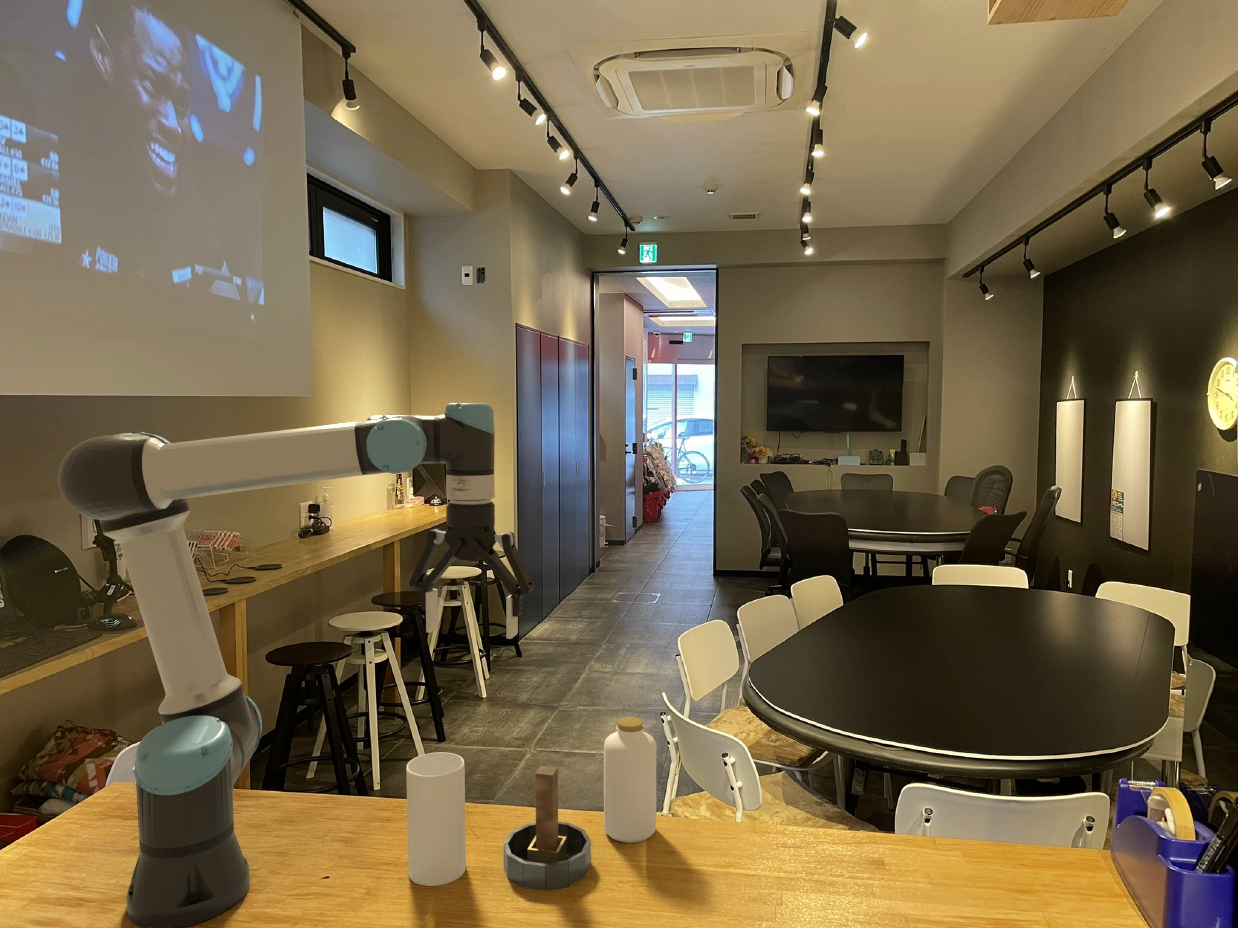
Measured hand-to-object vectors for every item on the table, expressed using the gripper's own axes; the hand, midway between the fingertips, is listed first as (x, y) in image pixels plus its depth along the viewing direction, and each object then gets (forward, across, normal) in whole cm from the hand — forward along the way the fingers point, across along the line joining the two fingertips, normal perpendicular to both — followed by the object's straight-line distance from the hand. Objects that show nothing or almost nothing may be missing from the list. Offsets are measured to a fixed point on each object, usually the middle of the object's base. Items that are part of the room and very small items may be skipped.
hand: (471, 633), depth 135 cm
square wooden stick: (+31, +16, -9) cm, 36 cm away
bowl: (+31, +16, -9) cm, 36 cm away
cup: (+32, 0, -14) cm, 35 cm away
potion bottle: (+31, +25, +3) cm, 41 cm away
